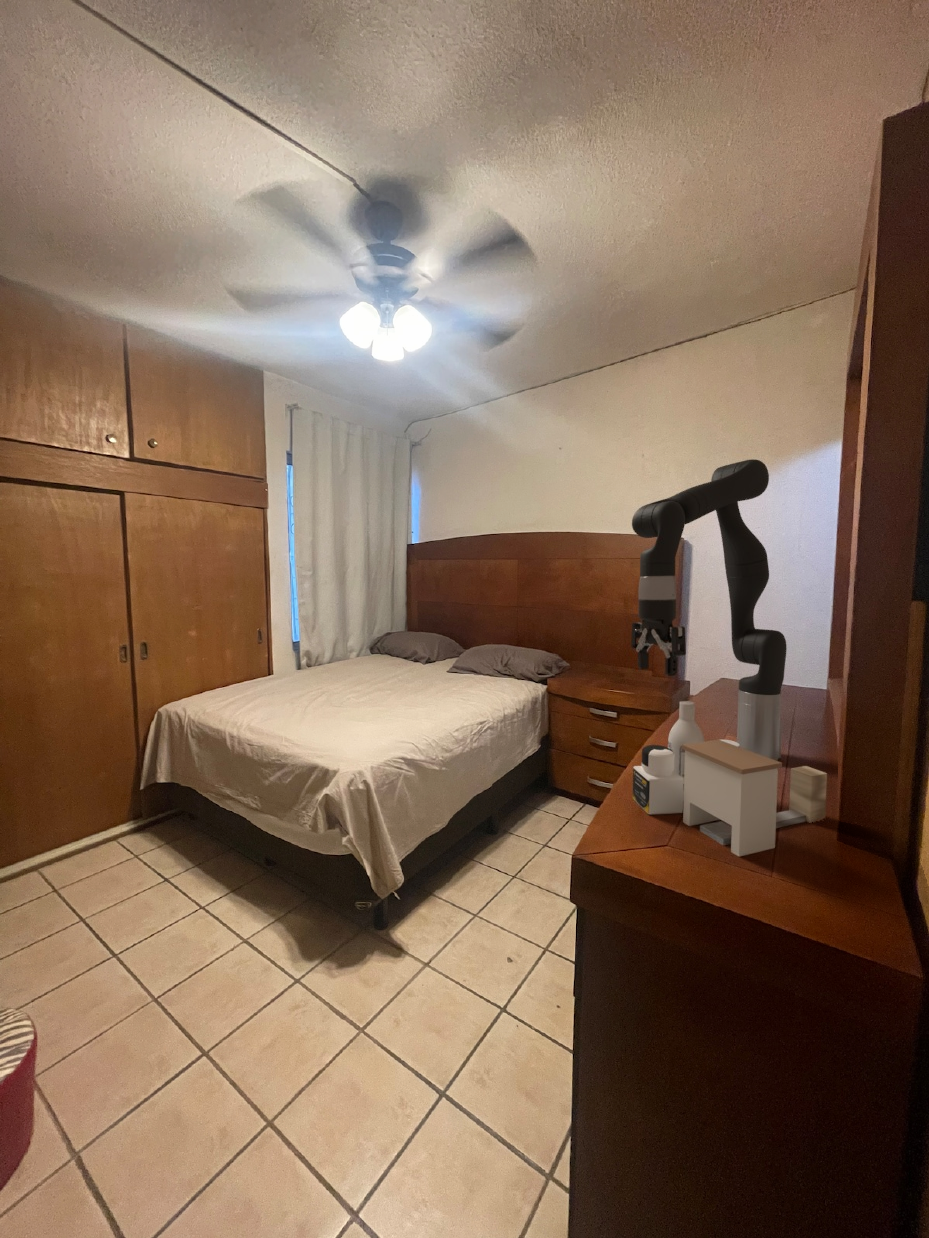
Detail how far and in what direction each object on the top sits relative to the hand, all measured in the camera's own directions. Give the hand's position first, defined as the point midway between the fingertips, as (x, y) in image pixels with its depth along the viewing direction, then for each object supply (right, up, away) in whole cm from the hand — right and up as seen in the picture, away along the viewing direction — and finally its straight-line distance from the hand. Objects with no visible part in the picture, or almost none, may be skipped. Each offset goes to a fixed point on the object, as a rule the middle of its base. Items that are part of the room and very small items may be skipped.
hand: (656, 672), depth 102 cm
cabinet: (+5, -27, -18) cm, 33 cm away
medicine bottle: (-3, -27, -7) cm, 28 cm away
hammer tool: (+18, -27, -14) cm, 35 cm away
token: (+4, -28, -18) cm, 33 cm away
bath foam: (+5, -26, -2) cm, 27 cm away
